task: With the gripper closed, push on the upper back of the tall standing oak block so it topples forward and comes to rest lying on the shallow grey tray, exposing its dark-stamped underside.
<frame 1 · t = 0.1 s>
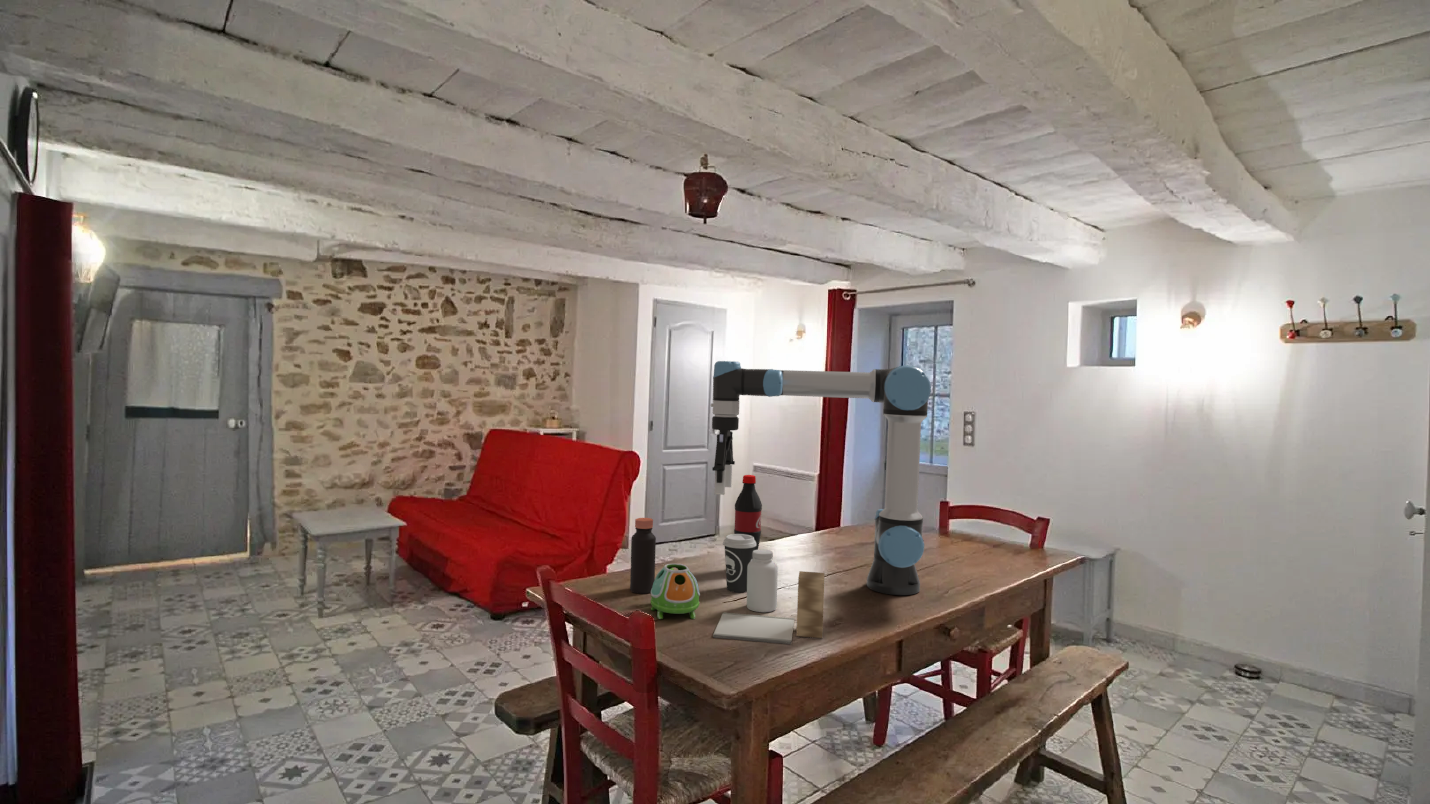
hand: (723, 490, 206), 28 cm above the table, fingers open, 13 cm apart
cola bottle: (746, 571, 226), on the table
pill bottle: (761, 608, 190), on the table
shallow grey tray: (755, 628, 174), on the table
vinegar: (642, 591, 202), on the table
turtle holder: (672, 612, 186), on the table
coffee cup: (738, 590, 206), on the table
oak block: (809, 633, 172), on the table
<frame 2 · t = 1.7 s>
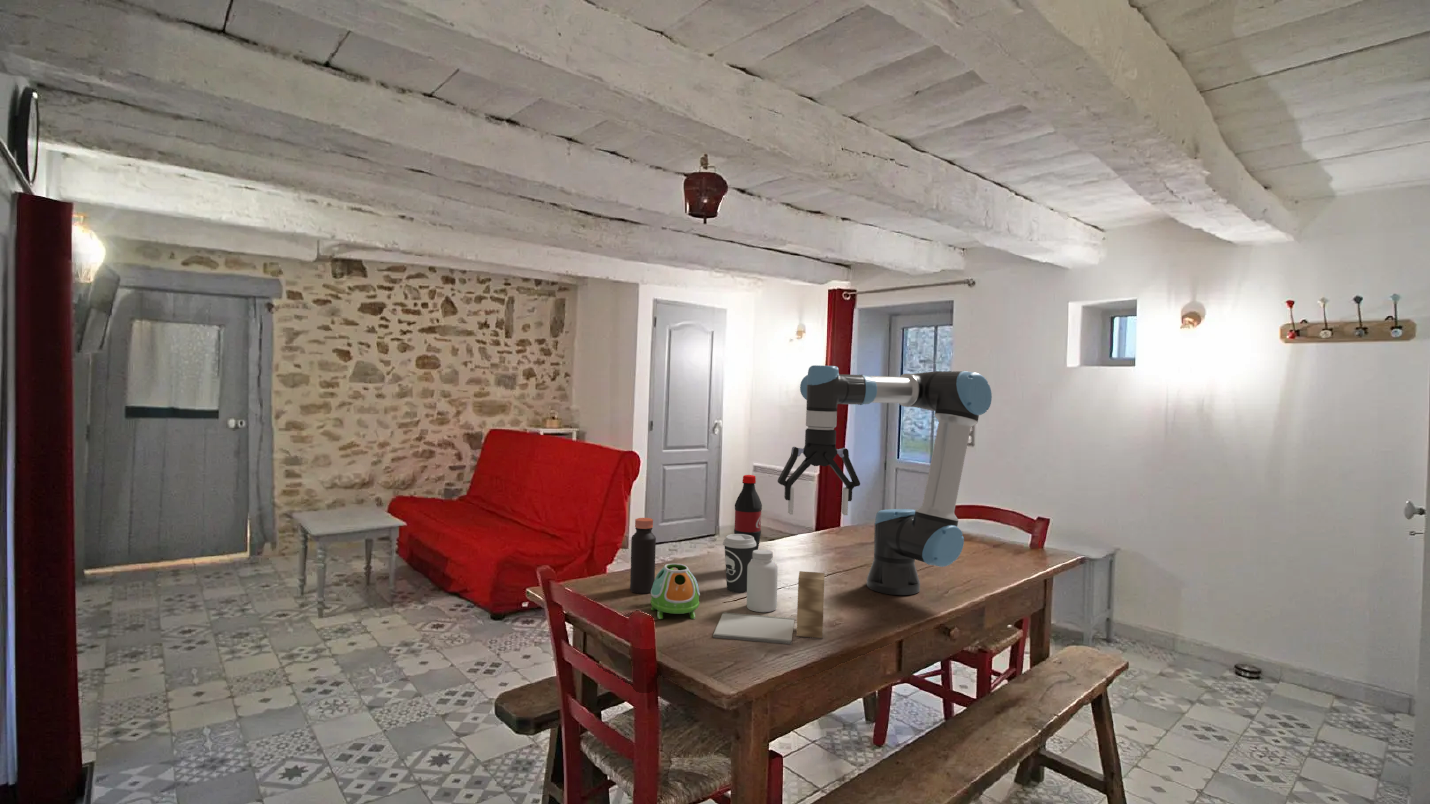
hand: (817, 514, 179), 27 cm above the table, fingers open, 13 cm apart
nothing on the table moved.
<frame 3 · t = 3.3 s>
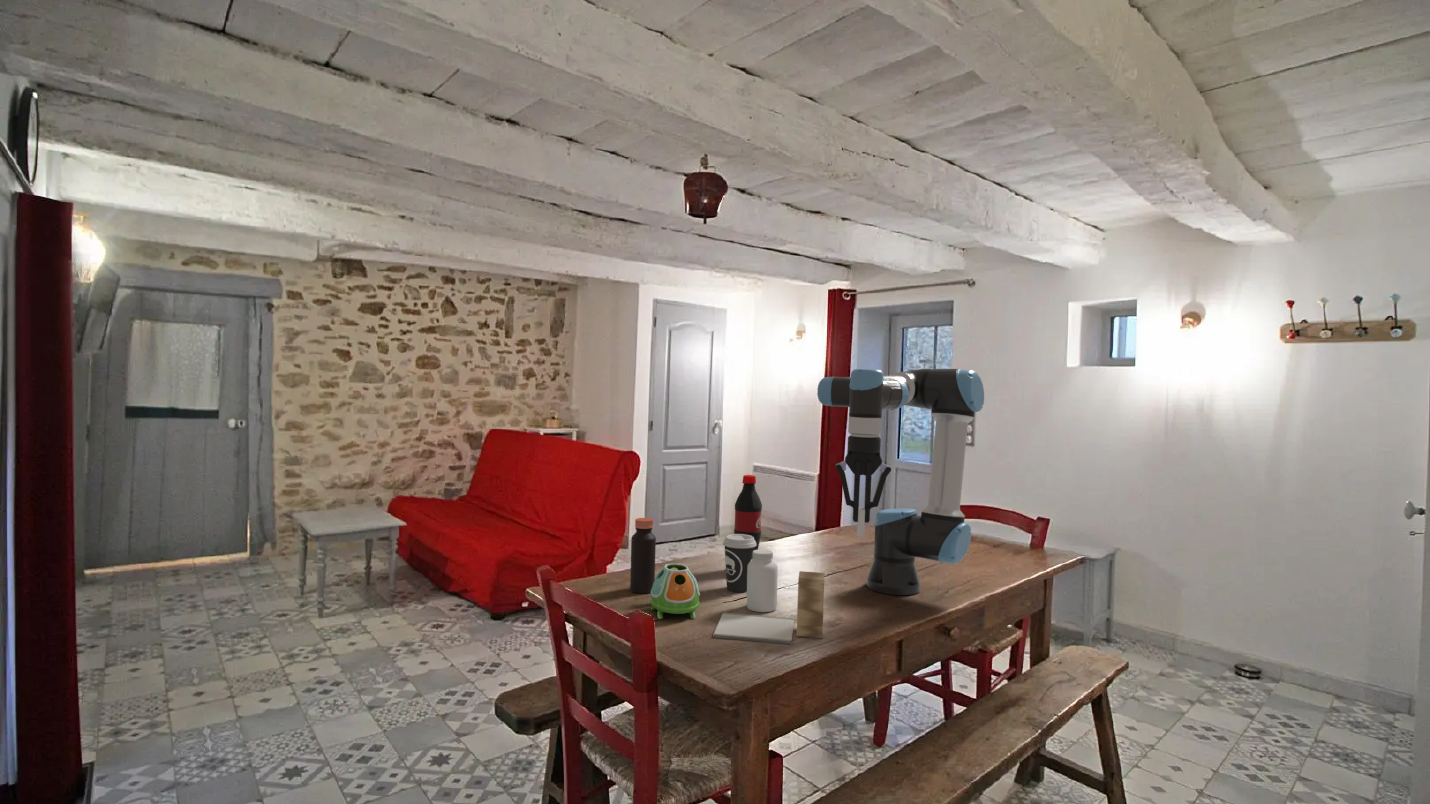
hand: (860, 535, 170), 24 cm above the table, fingers closed
nothing on the table moved.
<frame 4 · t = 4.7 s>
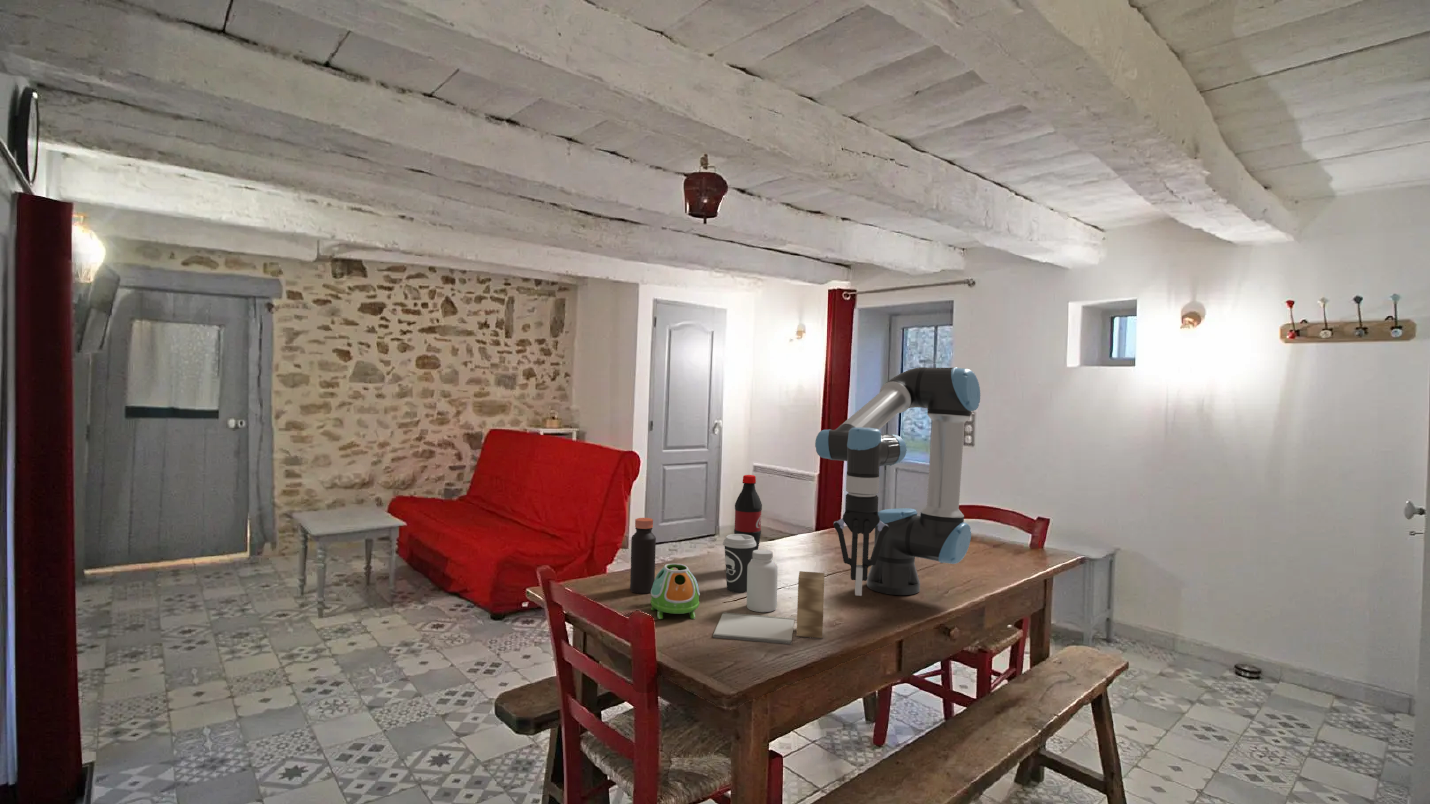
hand: (858, 593, 170), 10 cm above the table, fingers closed
nothing on the table moved.
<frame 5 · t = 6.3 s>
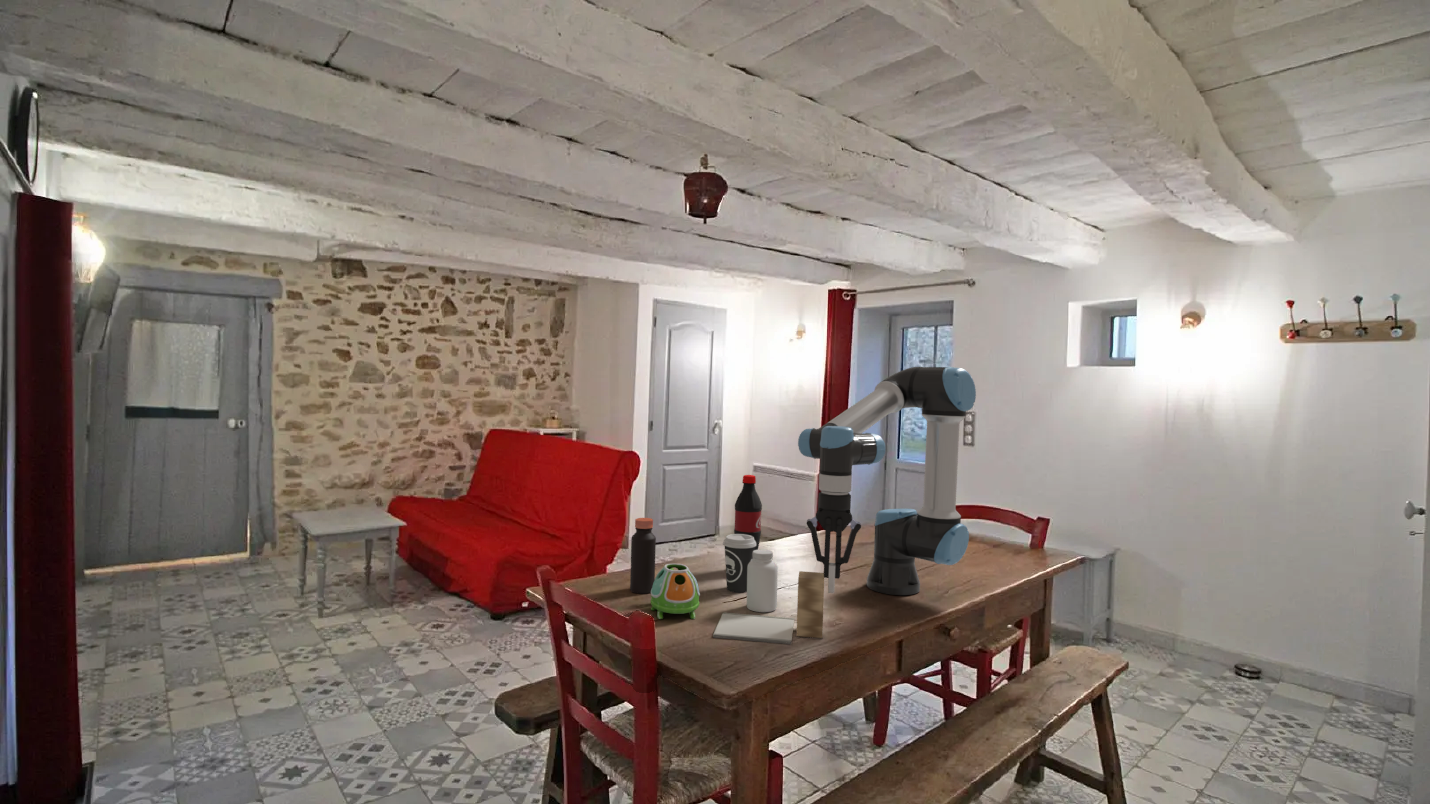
hand: (831, 591, 171), 11 cm above the table, fingers closed
oak block: (809, 633, 172), on the table, touching gripper
everything else where it was.
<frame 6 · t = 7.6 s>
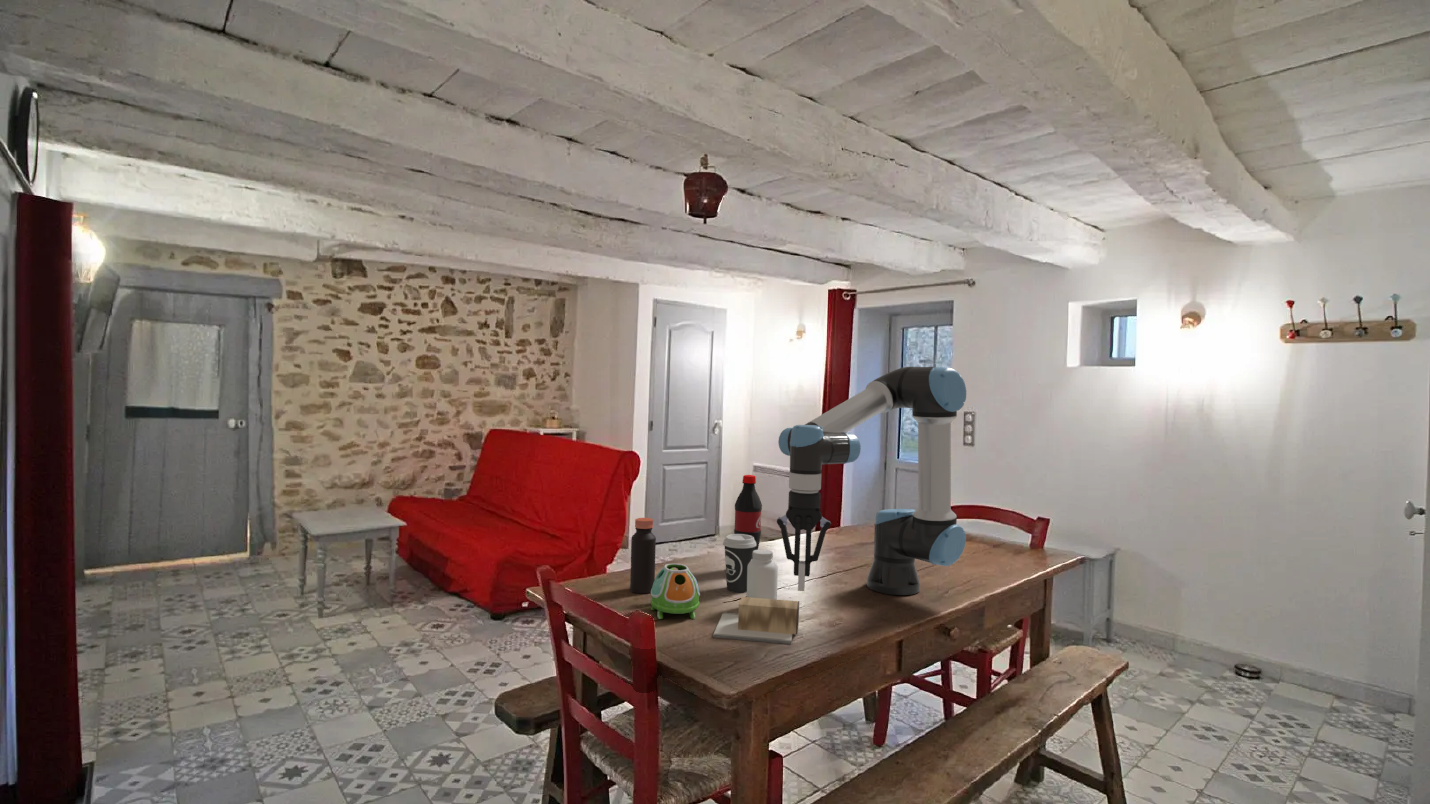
hand: (801, 589, 172), 10 cm above the table, fingers closed
oak block: (798, 617, 173), point 4 cm above the table, tilted 90°, touching shallow grey tray
everything else where it was.
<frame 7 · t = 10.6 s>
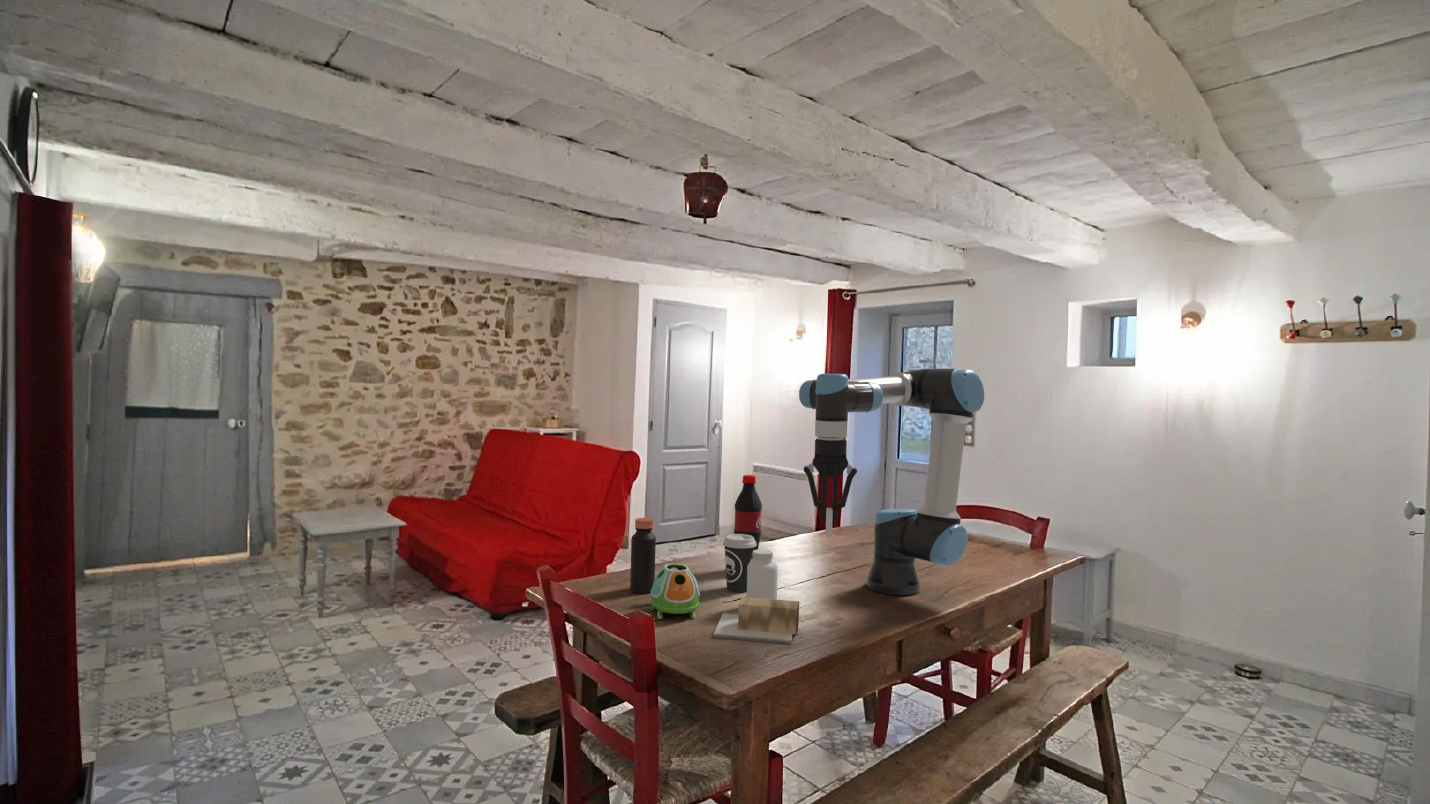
hand: (828, 535, 174), 23 cm above the table, fingers closed
nothing on the table moved.
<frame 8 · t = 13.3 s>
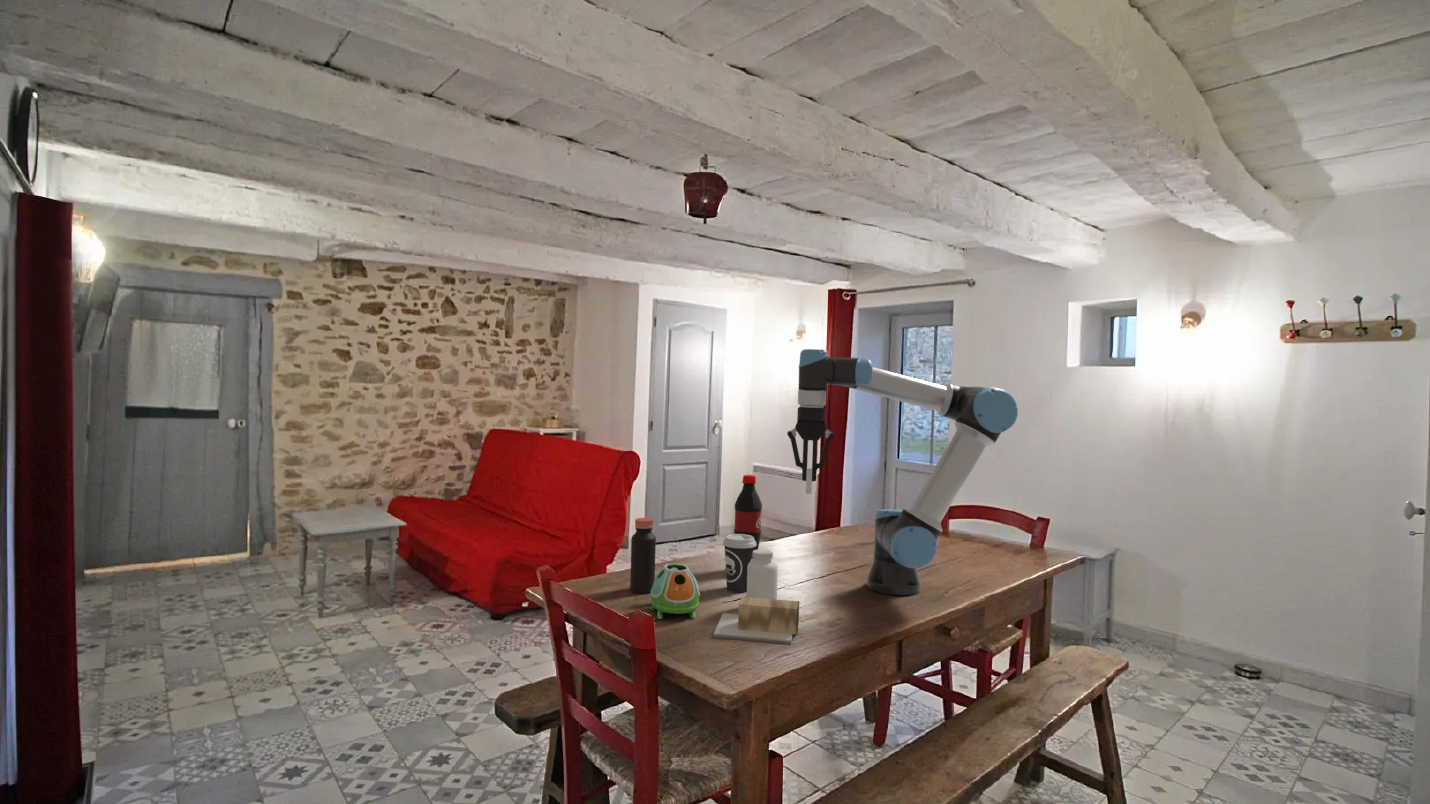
hand: (808, 492, 197), 29 cm above the table, fingers closed
nothing on the table moved.
at the end: oak block tilted 90°; oak block inside the target area (10.4 cm from its centre), point 3.6 cm above the table; the gripper is holding nothing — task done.
